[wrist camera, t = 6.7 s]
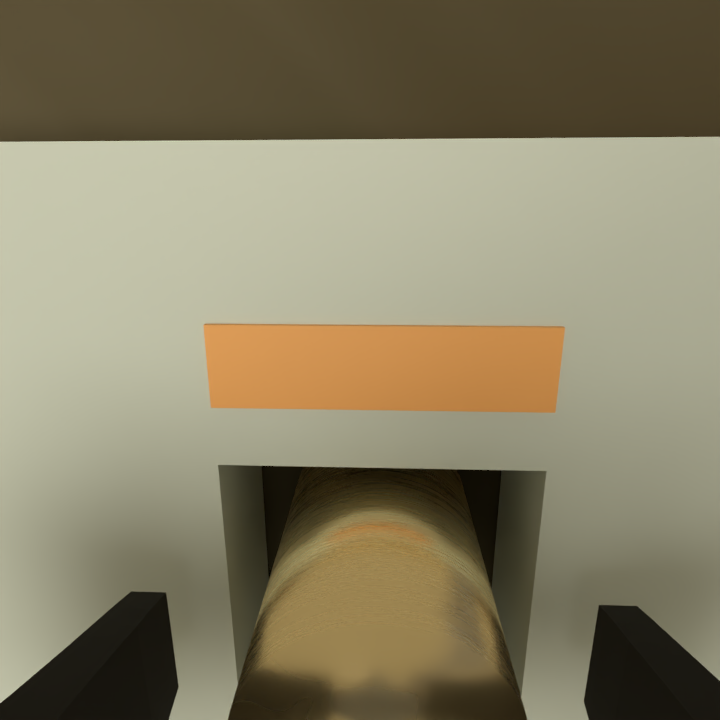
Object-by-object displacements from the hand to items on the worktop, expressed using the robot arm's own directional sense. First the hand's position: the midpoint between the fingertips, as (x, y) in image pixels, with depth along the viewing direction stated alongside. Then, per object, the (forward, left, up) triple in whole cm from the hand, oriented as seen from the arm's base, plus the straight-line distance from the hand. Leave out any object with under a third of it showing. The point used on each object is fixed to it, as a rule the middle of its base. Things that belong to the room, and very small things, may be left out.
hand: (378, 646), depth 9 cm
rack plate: (0, 0, -4) cm, 4 cm away
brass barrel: (0, 0, -4) cm, 4 cm away
